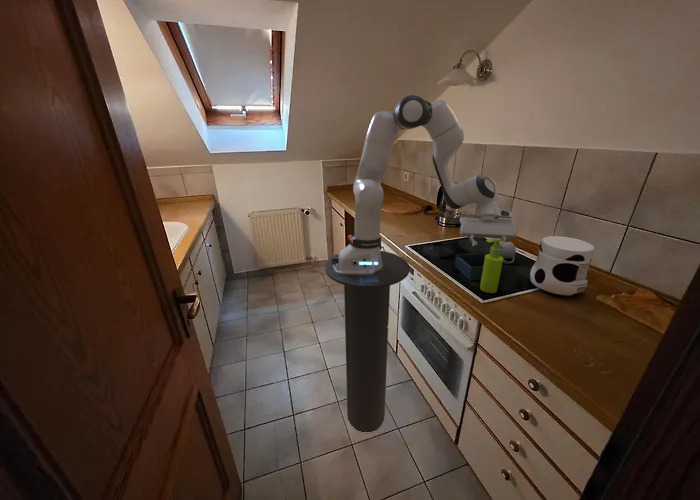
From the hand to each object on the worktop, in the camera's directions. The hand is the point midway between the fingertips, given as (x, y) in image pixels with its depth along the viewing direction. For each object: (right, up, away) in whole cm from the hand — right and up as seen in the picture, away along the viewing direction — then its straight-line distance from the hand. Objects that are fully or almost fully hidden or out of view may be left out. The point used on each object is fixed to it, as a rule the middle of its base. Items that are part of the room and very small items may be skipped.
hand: (487, 247), depth 115 cm
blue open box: (0, -10, +9) cm, 14 cm away
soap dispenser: (-2, -16, -4) cm, 17 cm away
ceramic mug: (+17, -6, +20) cm, 27 cm away
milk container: (+23, -16, -4) cm, 28 cm away
